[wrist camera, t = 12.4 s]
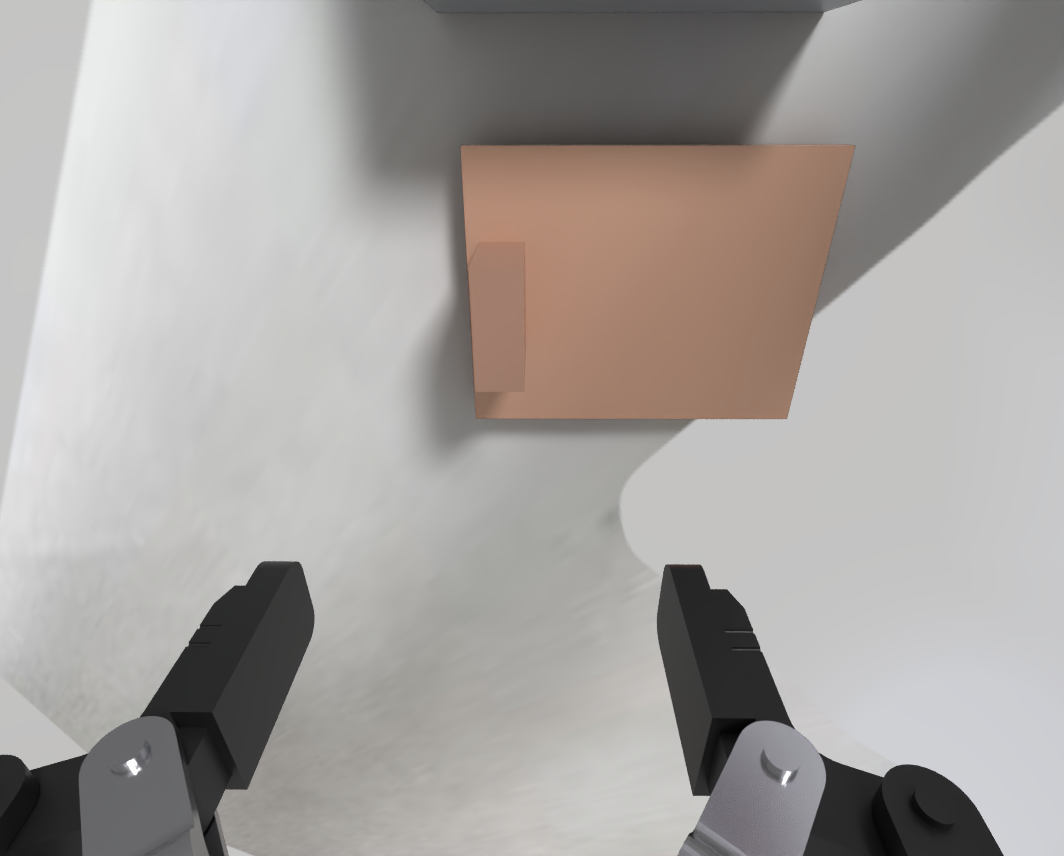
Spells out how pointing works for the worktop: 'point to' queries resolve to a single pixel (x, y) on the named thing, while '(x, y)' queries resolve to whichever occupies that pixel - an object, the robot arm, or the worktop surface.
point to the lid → (645, 276)
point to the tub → (634, 5)
